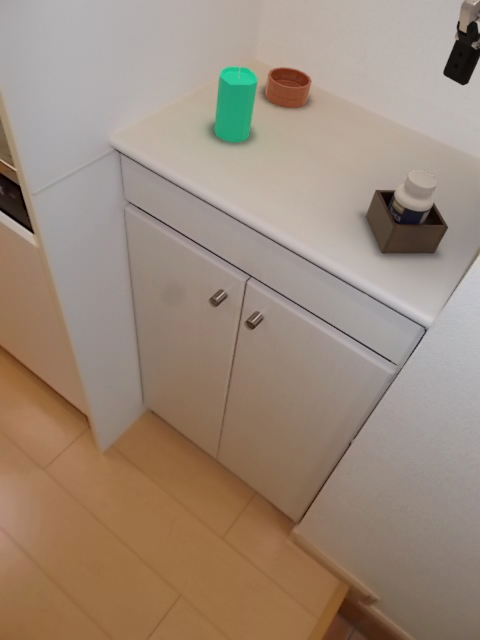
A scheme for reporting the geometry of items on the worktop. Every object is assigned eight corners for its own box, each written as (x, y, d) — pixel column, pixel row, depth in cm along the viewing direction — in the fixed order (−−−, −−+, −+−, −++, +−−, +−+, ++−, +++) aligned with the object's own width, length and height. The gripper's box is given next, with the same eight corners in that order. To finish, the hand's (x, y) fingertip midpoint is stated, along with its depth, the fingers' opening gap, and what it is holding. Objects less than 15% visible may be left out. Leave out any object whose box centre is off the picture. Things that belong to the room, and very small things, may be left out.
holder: (413, 221, 80) (427, 190, 76) (431, 257, 75) (448, 227, 71) (363, 220, 78) (375, 189, 74) (379, 257, 73) (393, 226, 69)
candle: (223, 123, 91) (231, 52, 82) (254, 135, 90) (265, 64, 81) (207, 138, 88) (213, 66, 78) (239, 150, 86) (249, 79, 77)
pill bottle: (372, 235, 76) (396, 178, 68) (387, 217, 79) (411, 161, 71) (406, 252, 74) (434, 195, 67) (420, 233, 77) (448, 177, 70)
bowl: (301, 91, 103) (306, 68, 99) (309, 113, 98) (315, 89, 94) (261, 89, 101) (265, 66, 98) (268, 110, 96) (272, 87, 93)
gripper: (551, -96, 43) (461, 102, 56) (641, -106, 51) (544, 69, 64) (476, -120, 46) (408, 72, 60) (571, -126, 54) (493, 44, 67)
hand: (479, 71), depth 62 cm, fingers open, 9 cm apart
